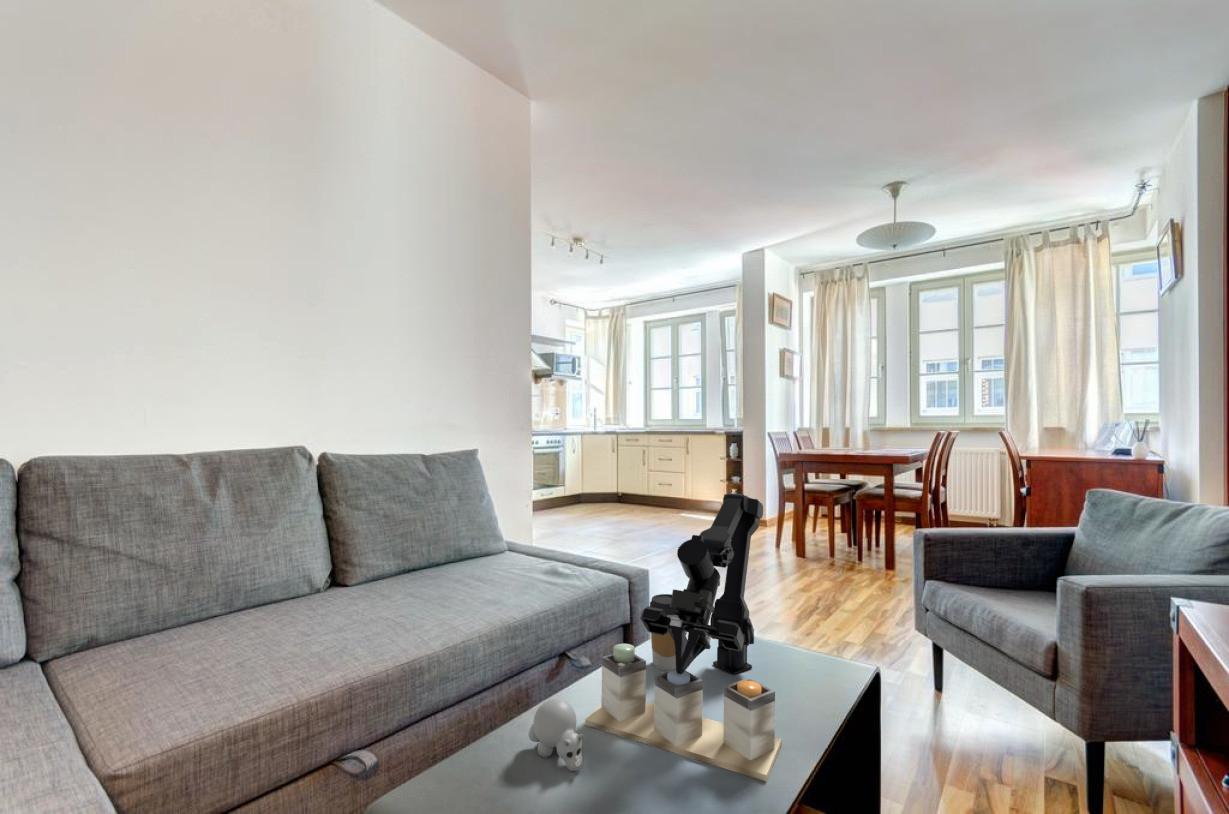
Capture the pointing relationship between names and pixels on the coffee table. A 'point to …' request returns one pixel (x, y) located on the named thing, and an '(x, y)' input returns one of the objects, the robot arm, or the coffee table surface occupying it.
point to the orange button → (749, 688)
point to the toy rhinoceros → (557, 732)
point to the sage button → (624, 653)
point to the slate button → (678, 678)
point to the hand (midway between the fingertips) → (678, 673)
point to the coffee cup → (663, 636)
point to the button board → (691, 748)
